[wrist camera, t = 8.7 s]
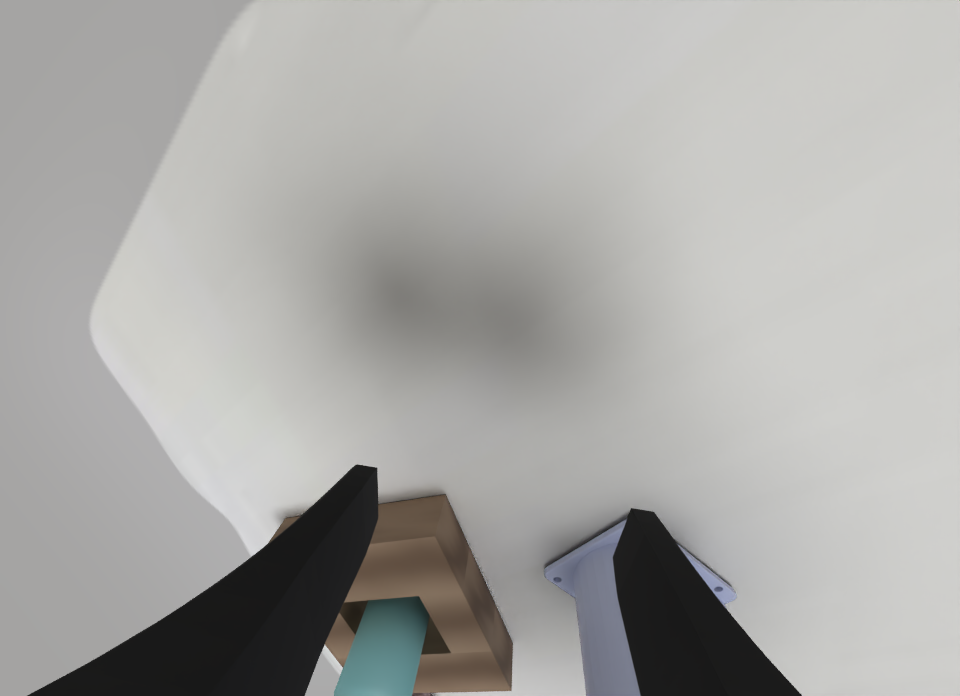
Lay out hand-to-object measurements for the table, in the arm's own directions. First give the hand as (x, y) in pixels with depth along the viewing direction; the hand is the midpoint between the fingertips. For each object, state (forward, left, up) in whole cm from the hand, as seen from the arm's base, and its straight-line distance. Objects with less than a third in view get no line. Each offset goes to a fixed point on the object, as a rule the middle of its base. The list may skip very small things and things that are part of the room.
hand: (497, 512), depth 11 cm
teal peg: (-7, +19, -9) cm, 22 cm away
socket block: (-7, +19, -9) cm, 22 cm away
